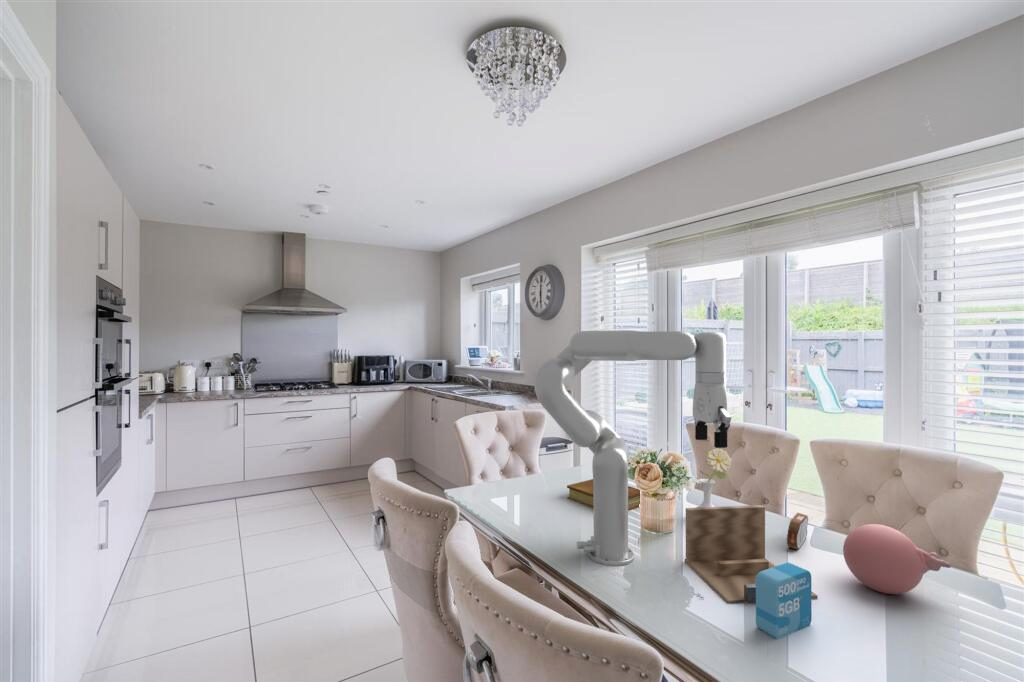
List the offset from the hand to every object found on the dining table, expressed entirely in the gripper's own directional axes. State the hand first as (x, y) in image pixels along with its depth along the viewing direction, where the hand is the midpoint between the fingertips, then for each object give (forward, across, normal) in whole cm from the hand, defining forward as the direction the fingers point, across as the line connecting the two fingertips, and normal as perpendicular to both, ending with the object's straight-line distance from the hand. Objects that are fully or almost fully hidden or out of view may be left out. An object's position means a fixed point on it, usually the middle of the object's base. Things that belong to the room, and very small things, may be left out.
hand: (710, 443), depth 124 cm
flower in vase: (+34, -31, +17) cm, 49 cm away
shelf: (+33, +6, +6) cm, 34 cm away
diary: (+34, -55, -11) cm, 65 cm away
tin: (+34, -12, +34) cm, 49 cm away
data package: (+34, +26, +2) cm, 42 cm away
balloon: (+34, +16, +38) cm, 53 cm away
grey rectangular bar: (+33, +16, +6) cm, 38 cm away
